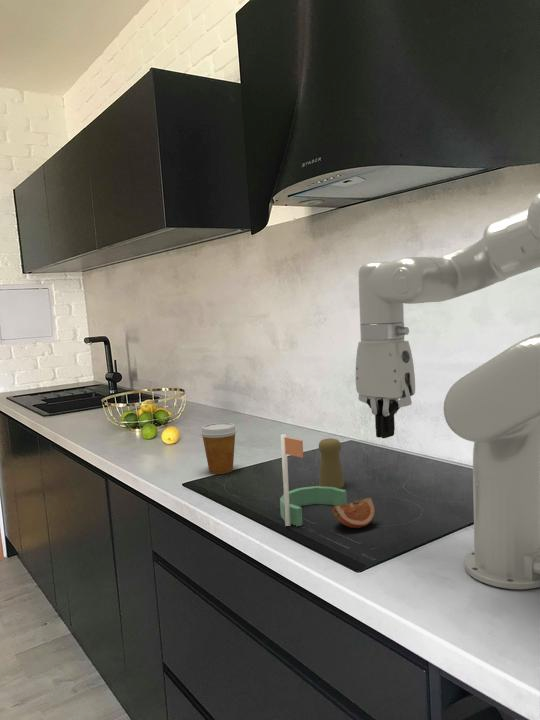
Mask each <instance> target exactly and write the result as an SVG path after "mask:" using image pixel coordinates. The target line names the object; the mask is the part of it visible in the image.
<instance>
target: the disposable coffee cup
mask: <svg viewBox="0 0 540 720" xmlns="http://www.w3.org/2000/svg"><path fill="white" fill-rule="evenodd" d="M237 432H238V429H237V428H236V424H234V423H231V422H215V423H209V424H205V425H203V426H201V430H200V434H201V437H202V441H203V445H204V451H205V456H206V461H207V467H208V471H209V473H210V474H213V475H225V474H228V473H232V472H233V471H234V461H235V460H234V459H235V445H236V443H235V442H236V434H237Z"/></svg>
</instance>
